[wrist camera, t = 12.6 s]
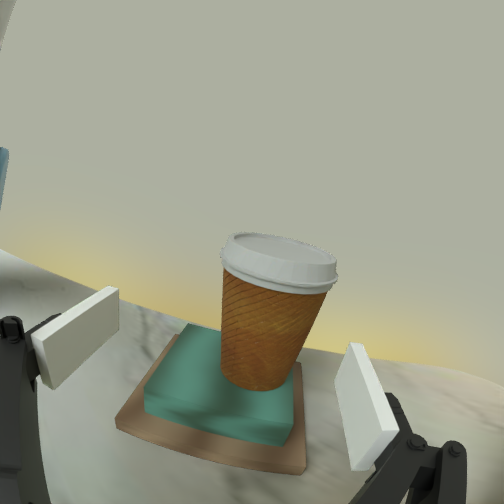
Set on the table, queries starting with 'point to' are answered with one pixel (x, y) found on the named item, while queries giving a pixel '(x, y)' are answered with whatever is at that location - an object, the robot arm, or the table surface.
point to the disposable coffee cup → (269, 305)
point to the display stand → (216, 409)
